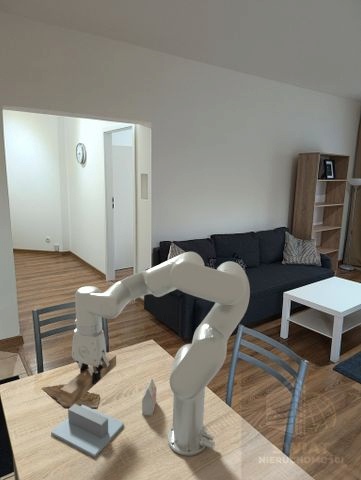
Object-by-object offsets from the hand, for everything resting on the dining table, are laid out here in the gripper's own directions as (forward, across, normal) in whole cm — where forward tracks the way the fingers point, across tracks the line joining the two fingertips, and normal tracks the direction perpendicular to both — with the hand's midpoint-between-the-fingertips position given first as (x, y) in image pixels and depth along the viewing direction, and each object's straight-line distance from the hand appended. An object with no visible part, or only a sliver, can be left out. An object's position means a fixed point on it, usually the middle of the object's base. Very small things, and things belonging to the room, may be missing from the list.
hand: (90, 379), depth 104 cm
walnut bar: (+1, 0, 0) cm, 1 cm away
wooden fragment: (+18, -17, +8) cm, 26 cm away
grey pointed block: (+18, +13, +16) cm, 27 cm away
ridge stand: (+17, 0, -2) cm, 18 cm away
